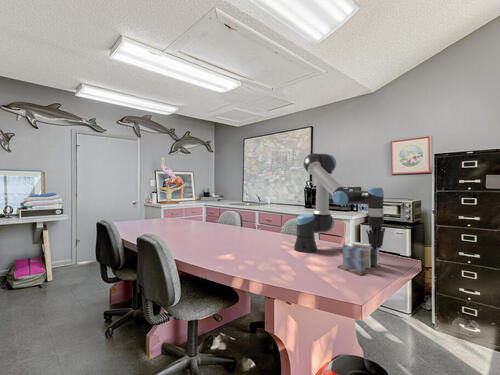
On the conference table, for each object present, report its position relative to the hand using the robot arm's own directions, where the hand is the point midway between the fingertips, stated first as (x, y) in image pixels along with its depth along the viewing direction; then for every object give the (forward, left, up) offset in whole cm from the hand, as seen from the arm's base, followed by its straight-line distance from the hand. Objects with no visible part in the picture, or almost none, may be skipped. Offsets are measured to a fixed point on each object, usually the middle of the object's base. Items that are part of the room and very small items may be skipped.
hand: (375, 259), depth 141 cm
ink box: (0, -12, -2) cm, 12 cm away
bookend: (0, -5, -2) cm, 5 cm away
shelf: (0, -8, -3) cm, 8 cm away
